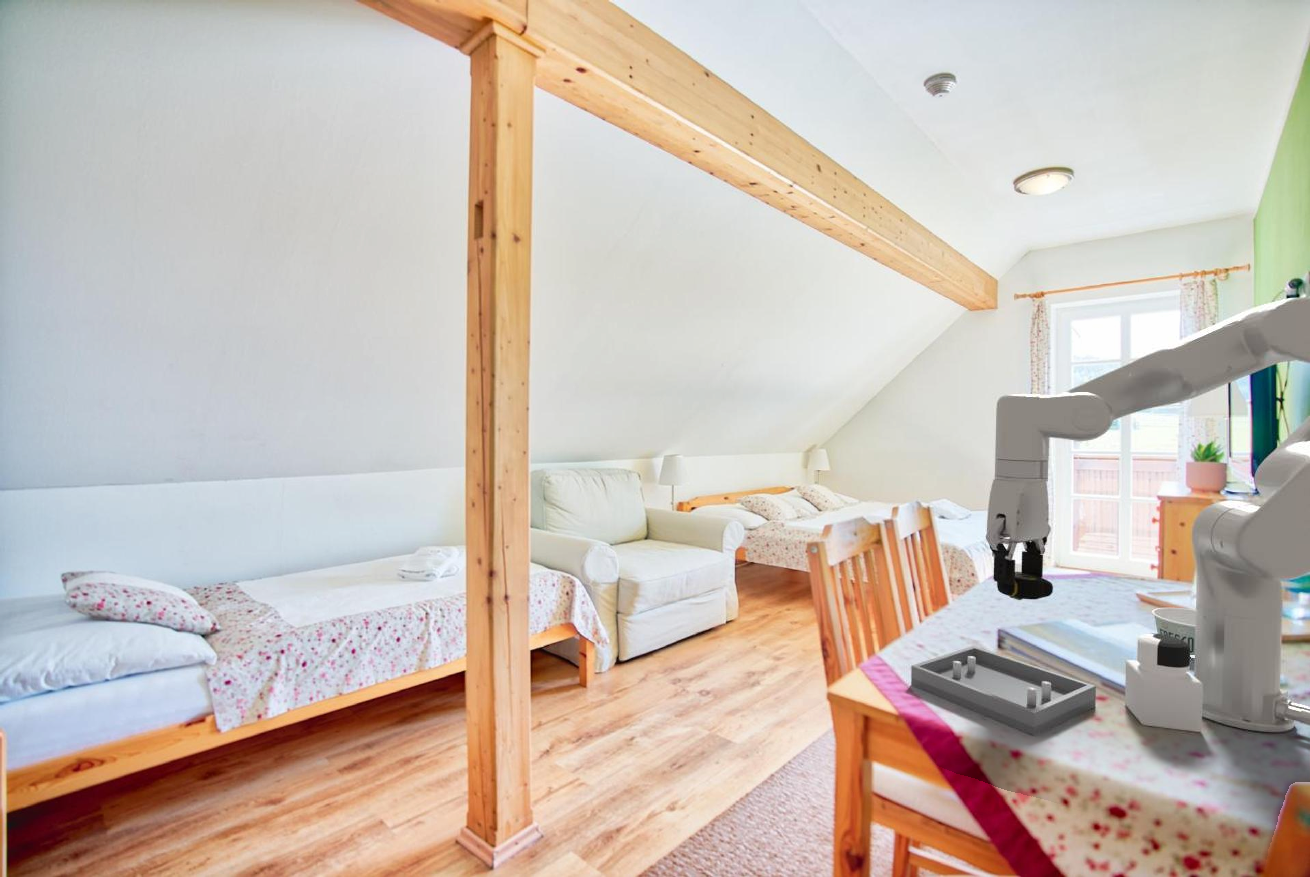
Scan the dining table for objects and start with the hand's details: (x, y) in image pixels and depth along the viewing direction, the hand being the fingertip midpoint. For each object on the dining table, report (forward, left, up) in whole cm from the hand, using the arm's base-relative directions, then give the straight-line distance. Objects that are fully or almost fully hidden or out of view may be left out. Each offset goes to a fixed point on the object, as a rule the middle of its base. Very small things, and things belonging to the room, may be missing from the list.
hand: (1018, 579), depth 105 cm
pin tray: (0, +5, -18) cm, 19 cm away
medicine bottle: (-17, -7, -18) cm, 26 cm away
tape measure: (0, -1, -3) cm, 3 cm away
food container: (-8, -43, -18) cm, 48 cm away
